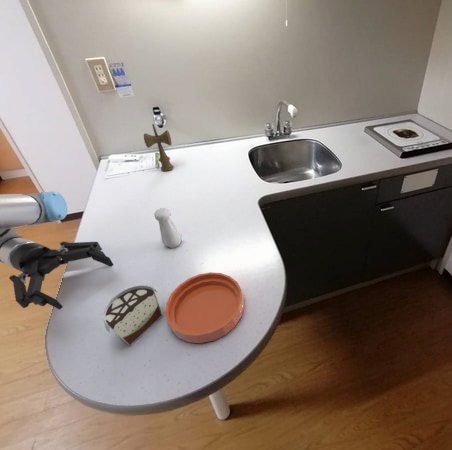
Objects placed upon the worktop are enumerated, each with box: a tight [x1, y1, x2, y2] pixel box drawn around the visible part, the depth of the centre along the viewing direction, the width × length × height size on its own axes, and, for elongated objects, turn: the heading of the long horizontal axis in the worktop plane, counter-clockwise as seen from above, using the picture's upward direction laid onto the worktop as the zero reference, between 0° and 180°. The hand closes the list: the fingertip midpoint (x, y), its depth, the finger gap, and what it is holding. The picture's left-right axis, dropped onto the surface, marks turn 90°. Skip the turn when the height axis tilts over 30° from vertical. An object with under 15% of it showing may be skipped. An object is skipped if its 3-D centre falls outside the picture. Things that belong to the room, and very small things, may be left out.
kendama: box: [143, 123, 174, 172], centre depth 126 cm, size 6×10×20 cm, turn 107°
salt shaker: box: [153, 207, 183, 249], centre depth 92 cm, size 6×6×13 cm
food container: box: [102, 285, 164, 347], centre depth 71 cm, size 12×6×10 cm, turn 149°
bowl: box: [164, 271, 245, 344], centre depth 76 cm, size 18×18×4 cm
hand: (86, 282), depth 71 cm, fingers open, 13 cm apart
